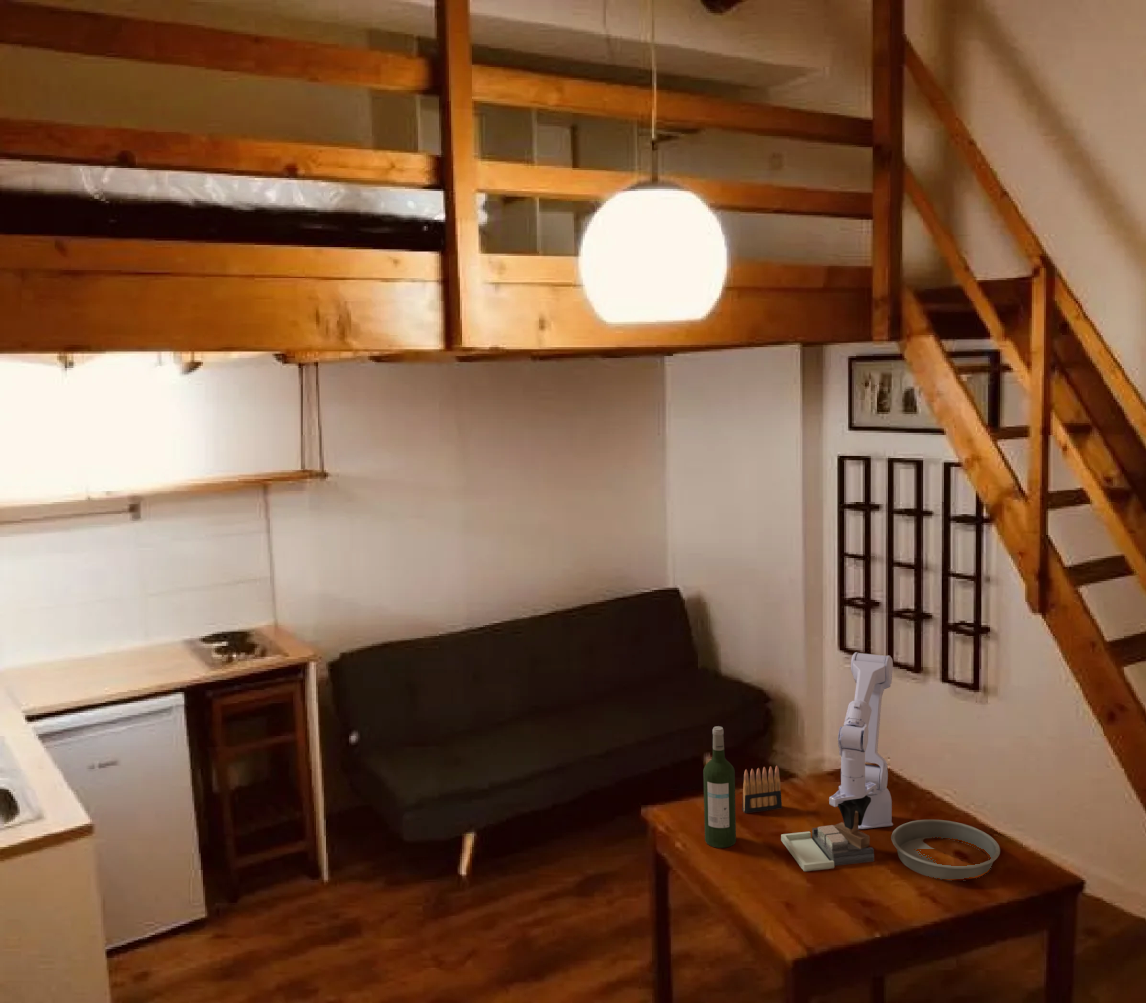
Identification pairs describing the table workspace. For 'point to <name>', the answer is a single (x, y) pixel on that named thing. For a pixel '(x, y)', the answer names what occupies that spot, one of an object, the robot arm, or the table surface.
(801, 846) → the tray
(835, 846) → the chip
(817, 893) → the table surface
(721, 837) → the wine bottle
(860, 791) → the robot arm
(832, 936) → the table surface
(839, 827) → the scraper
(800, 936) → the table surface
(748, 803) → the ammunition clip
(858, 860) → the slot plate
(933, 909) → the table surface
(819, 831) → the chip
